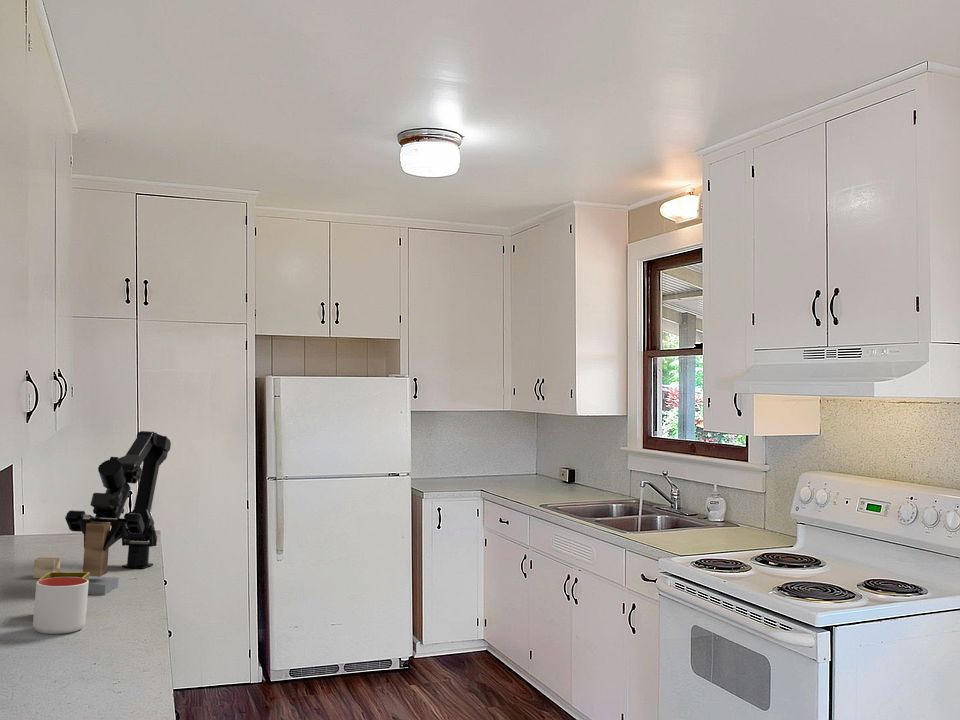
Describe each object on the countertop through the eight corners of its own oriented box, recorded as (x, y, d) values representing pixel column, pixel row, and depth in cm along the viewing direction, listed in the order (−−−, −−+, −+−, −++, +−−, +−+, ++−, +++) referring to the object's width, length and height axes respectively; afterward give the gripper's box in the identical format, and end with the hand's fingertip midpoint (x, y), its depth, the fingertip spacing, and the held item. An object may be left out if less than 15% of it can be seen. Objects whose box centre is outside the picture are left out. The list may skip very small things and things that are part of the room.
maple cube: (39, 575, 235) (41, 556, 235) (59, 575, 235) (60, 557, 235) (32, 578, 230) (34, 559, 230) (52, 579, 230) (54, 560, 231)
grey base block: (82, 587, 224) (83, 576, 224) (117, 589, 224) (118, 577, 224) (67, 595, 215) (68, 583, 215) (104, 596, 215) (105, 584, 215)
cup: (21, 630, 180) (25, 581, 181) (64, 621, 189) (68, 574, 190) (53, 638, 176) (57, 588, 176) (95, 628, 184) (99, 581, 185)
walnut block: (89, 572, 222) (93, 521, 222) (106, 573, 222) (110, 522, 223) (82, 575, 217) (86, 523, 218) (100, 576, 218) (104, 524, 218)
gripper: (71, 479, 225) (48, 528, 213) (144, 482, 225) (125, 531, 214) (81, 506, 232) (60, 554, 220) (151, 509, 233) (134, 558, 221)
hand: (94, 549), depth 219 cm, fingers closed on walnut block, 4 cm apart
